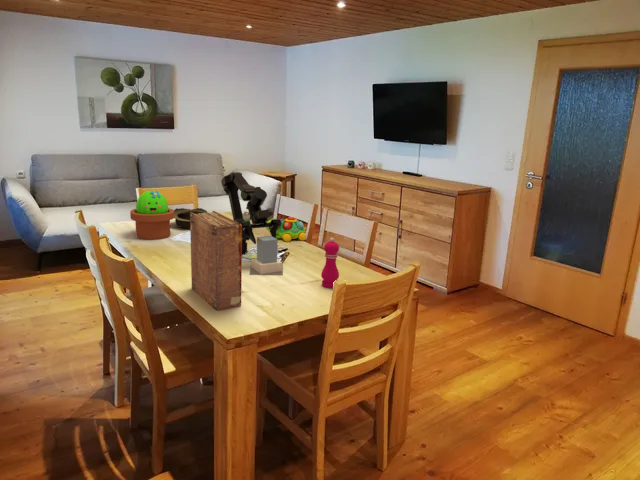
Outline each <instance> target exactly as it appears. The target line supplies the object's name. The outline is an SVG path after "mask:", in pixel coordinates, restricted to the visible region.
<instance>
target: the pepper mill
mask: <svg viewBox="0 0 640 480" xmlns="http://www.w3.org/2000/svg"><path fill="white" fill-rule="evenodd" d="M323 250H324V252H325V253H324V258H325V265H324V267H323V269H321V270H322V271H321V276H320V277H321V278H322V281H321V286H322V287H324V288H329V289H333V288H332V287H333V282H334V281H335V280H336V281H338V279H339V278H340V271H339V269H338V267H337V258H338V252H339V250H340V245H339V244H338V242H336V241H335V238H334V237H330V238H329V241H327V242H326V243H324V246H323Z"/></svg>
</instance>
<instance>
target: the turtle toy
mask: <svg viewBox="0 0 640 480" xmlns="http://www.w3.org/2000/svg"><path fill="white" fill-rule="evenodd" d="M272 219H276V218H273V217H272V218H270V219H269V220H267V221H266V223H270V222H271V220H272ZM279 219H280V220H281V222H282V224H281V226H280V227H279V229H278V230H277V231H276V239H282V240H283V241H284V242H287V243H288V242H290V241H291V240H292V239H293V240H294V239H298V240H299V241H303V242H304V241H305V240H306V239H307V235H306V233H305V232H306V230H307V227H304V223H303V222H302V221H300V220H298V218H295V217H293V216H288V217H287V218H279ZM265 229H266V231H268V232H269V233H270V229H269V227H265Z"/></svg>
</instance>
